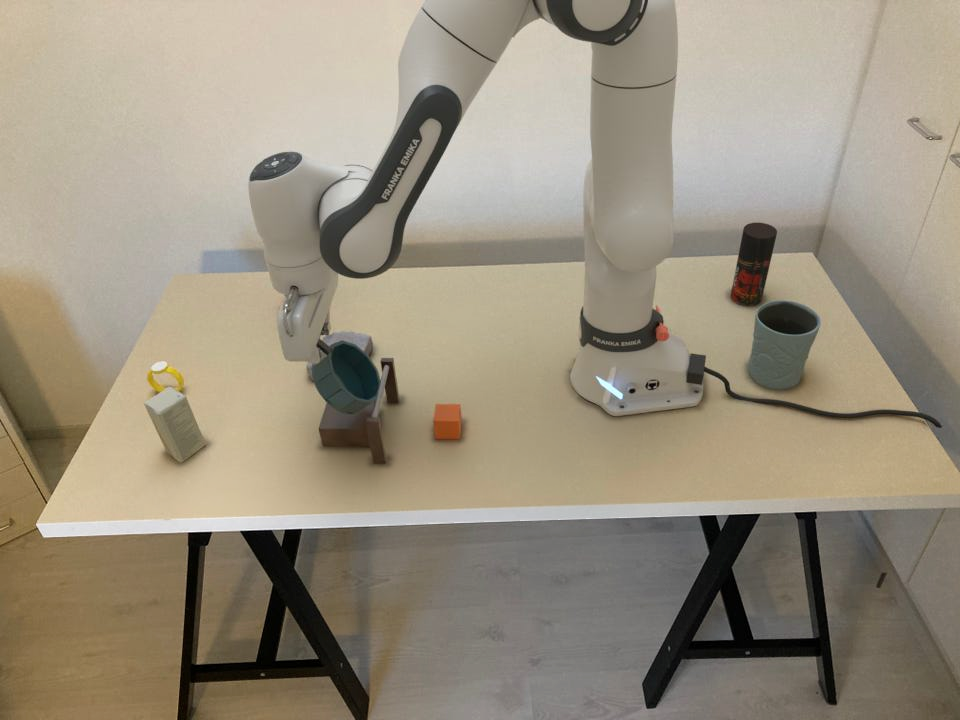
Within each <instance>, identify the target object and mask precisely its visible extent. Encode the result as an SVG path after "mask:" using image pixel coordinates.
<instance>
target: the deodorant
mask: <svg viewBox="0 0 960 720" xmlns="http://www.w3.org/2000/svg"><path fill="white" fill-rule="evenodd" d="M777 235H778V229H777V228H776V227H775V226H773V225H771V224H768V223H765V222H750V223H747V224H746V225H744V226H743V229H742V235H741V240H740V246H739V250H738V255H737V260H736V265H735V269H734V270H735V272H734V276H733V281H732V287H731V290H730V300H731V301H732V302H733V303H735V304H737V305H739V306H741V307H742V306H744V307H755V306H758V305H759V304H761V302H763V297H764V292H765V288H766V283H767V279H768V274H769V272H770V271H769V270H770V265H771V261H772V257H773V251H774V248H775V244H776V240H777Z"/></svg>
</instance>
